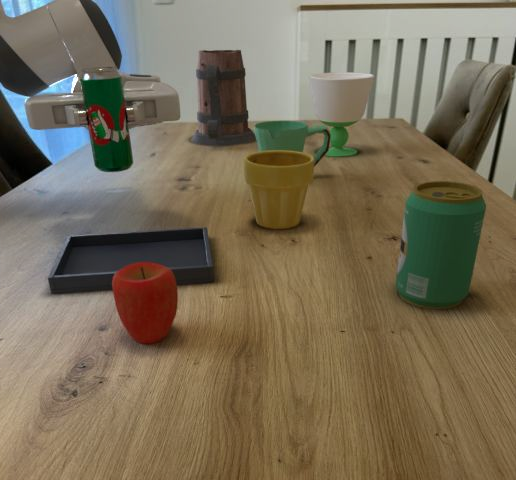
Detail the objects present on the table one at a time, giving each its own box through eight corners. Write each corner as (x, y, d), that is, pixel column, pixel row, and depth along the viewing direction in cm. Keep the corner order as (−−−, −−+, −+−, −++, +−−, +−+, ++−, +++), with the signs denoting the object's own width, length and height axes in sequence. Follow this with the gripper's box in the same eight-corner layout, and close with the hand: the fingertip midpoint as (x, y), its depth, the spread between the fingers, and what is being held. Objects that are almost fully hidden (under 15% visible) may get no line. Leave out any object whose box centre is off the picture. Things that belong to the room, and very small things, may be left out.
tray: (51, 294, 65) (47, 277, 64) (70, 249, 77) (67, 235, 76) (214, 282, 67) (213, 266, 66) (207, 241, 79) (206, 226, 78)
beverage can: (400, 276, 67) (413, 177, 61) (469, 285, 65) (490, 183, 58) (389, 304, 61) (401, 197, 55) (464, 316, 58) (487, 204, 52)
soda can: (122, 161, 77) (108, 65, 70) (140, 168, 73) (127, 67, 67) (88, 168, 74) (71, 68, 67) (106, 175, 70) (89, 71, 64)
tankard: (198, 132, 149) (192, 48, 138) (260, 132, 147) (258, 47, 137) (178, 151, 129) (169, 55, 118) (249, 152, 127) (246, 54, 117)
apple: (194, 334, 56) (188, 266, 52) (147, 359, 52) (136, 287, 48) (155, 315, 60) (147, 250, 56) (108, 337, 56) (95, 269, 52)
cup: (368, 160, 119) (374, 78, 110) (304, 158, 120) (306, 79, 112) (367, 146, 130) (373, 72, 122) (309, 145, 132) (311, 72, 124)
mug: (262, 189, 101) (261, 131, 96) (249, 176, 109) (248, 122, 104) (337, 182, 104) (340, 126, 99) (319, 170, 112) (321, 117, 107)
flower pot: (324, 218, 86) (327, 154, 81) (289, 238, 79) (290, 169, 74) (269, 207, 91) (268, 146, 86) (232, 225, 84) (229, 160, 79)
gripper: (22, 82, 77) (13, 94, 65) (169, 75, 81) (184, 85, 70) (33, 129, 80) (26, 149, 69) (173, 120, 85) (188, 137, 73)
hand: (107, 117), depth 69 cm, fingers closed on soda can, 5 cm apart
